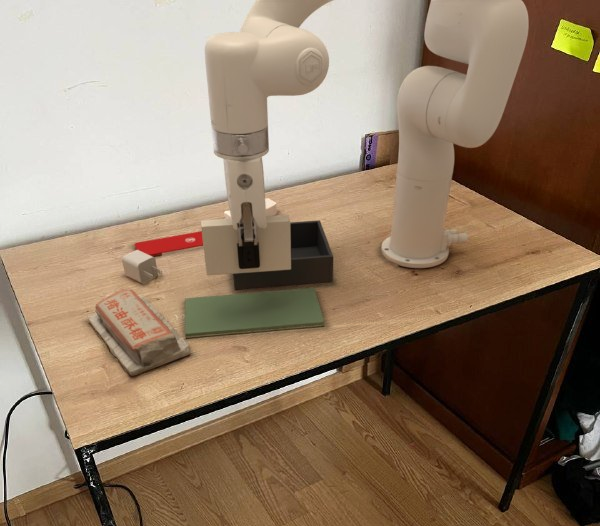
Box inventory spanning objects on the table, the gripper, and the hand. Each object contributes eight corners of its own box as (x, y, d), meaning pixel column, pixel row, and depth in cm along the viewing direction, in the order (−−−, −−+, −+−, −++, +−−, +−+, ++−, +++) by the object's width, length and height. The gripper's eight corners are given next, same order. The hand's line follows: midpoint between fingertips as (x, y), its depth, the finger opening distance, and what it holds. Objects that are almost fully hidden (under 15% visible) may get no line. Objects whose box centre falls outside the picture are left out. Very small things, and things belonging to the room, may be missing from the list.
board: (289, 262, 97) (288, 214, 92) (291, 269, 95) (290, 220, 90) (206, 268, 96) (200, 220, 90) (206, 275, 94) (201, 226, 89)
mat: (314, 292, 106) (314, 287, 106) (324, 327, 98) (324, 321, 98) (186, 303, 104) (185, 298, 103) (185, 339, 96) (185, 333, 96)
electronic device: (139, 258, 116) (217, 244, 120) (139, 256, 115) (216, 241, 119) (134, 245, 120) (209, 231, 124) (133, 242, 119) (208, 229, 123)
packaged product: (189, 328, 90) (124, 352, 86) (193, 355, 93) (131, 379, 89) (139, 277, 101) (80, 296, 97) (144, 302, 104) (87, 321, 100)
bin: (319, 247, 119) (320, 220, 115) (332, 284, 108) (333, 256, 104) (230, 253, 117) (228, 226, 113) (234, 292, 106) (232, 264, 103)
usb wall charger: (143, 268, 113) (139, 248, 110) (168, 280, 110) (164, 260, 107) (125, 277, 111) (121, 257, 108) (150, 289, 107) (146, 269, 105)
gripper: (274, 159, 77) (278, 287, 89) (263, 120, 89) (267, 237, 101) (214, 162, 76) (226, 291, 88) (211, 122, 88) (222, 240, 100)
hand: (248, 261), depth 95 cm, fingers closed on board, 2 cm apart
